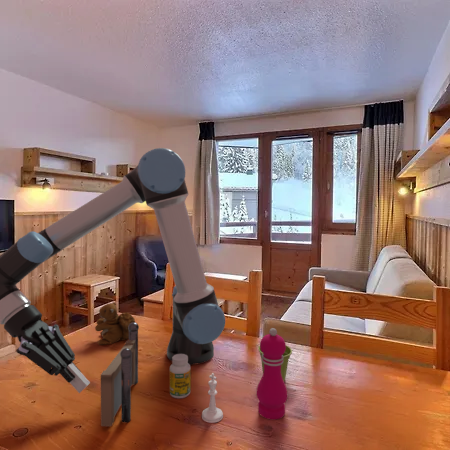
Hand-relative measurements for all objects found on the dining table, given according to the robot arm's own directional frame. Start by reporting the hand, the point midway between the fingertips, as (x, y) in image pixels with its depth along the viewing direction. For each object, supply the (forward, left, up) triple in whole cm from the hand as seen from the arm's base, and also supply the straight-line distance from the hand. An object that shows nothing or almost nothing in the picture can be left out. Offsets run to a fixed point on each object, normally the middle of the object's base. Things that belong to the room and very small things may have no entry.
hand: (84, 387), depth 80 cm
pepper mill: (-44, +3, -5) cm, 44 cm away
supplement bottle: (-22, -6, -5) cm, 23 cm away
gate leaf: (-8, -1, -4) cm, 9 cm away
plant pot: (-48, -12, -5) cm, 50 cm away
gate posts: (-10, -4, -5) cm, 11 cm away
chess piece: (-30, +4, -5) cm, 31 cm away
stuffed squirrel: (+3, -43, -5) cm, 43 cm away
